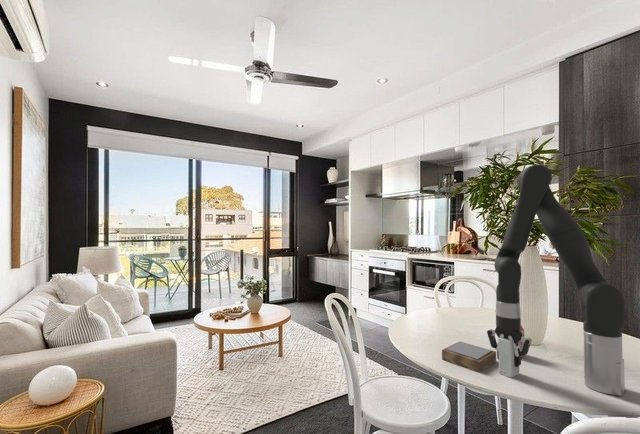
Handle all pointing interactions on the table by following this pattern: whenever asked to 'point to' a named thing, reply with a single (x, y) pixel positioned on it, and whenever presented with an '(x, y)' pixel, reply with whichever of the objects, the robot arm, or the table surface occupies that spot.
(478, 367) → the plinth
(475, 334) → the table surface
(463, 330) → the table surface
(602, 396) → the table surface
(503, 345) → the skincare box
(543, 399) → the table surface
